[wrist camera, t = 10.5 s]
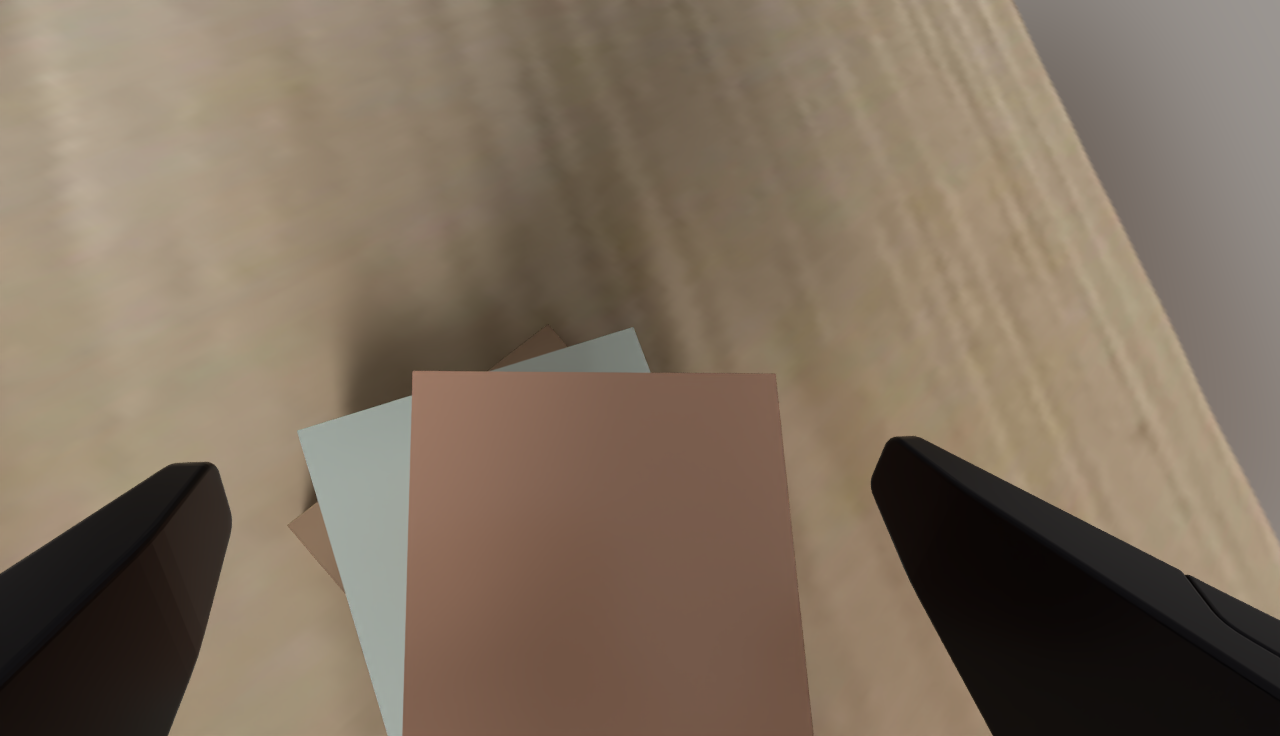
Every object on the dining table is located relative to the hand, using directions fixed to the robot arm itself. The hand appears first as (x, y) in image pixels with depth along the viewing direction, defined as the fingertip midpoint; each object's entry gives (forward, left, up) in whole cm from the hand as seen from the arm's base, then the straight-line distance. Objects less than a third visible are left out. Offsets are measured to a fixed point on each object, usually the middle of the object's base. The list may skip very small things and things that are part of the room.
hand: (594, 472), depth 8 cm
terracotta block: (-1, +1, -10) cm, 10 cm away
